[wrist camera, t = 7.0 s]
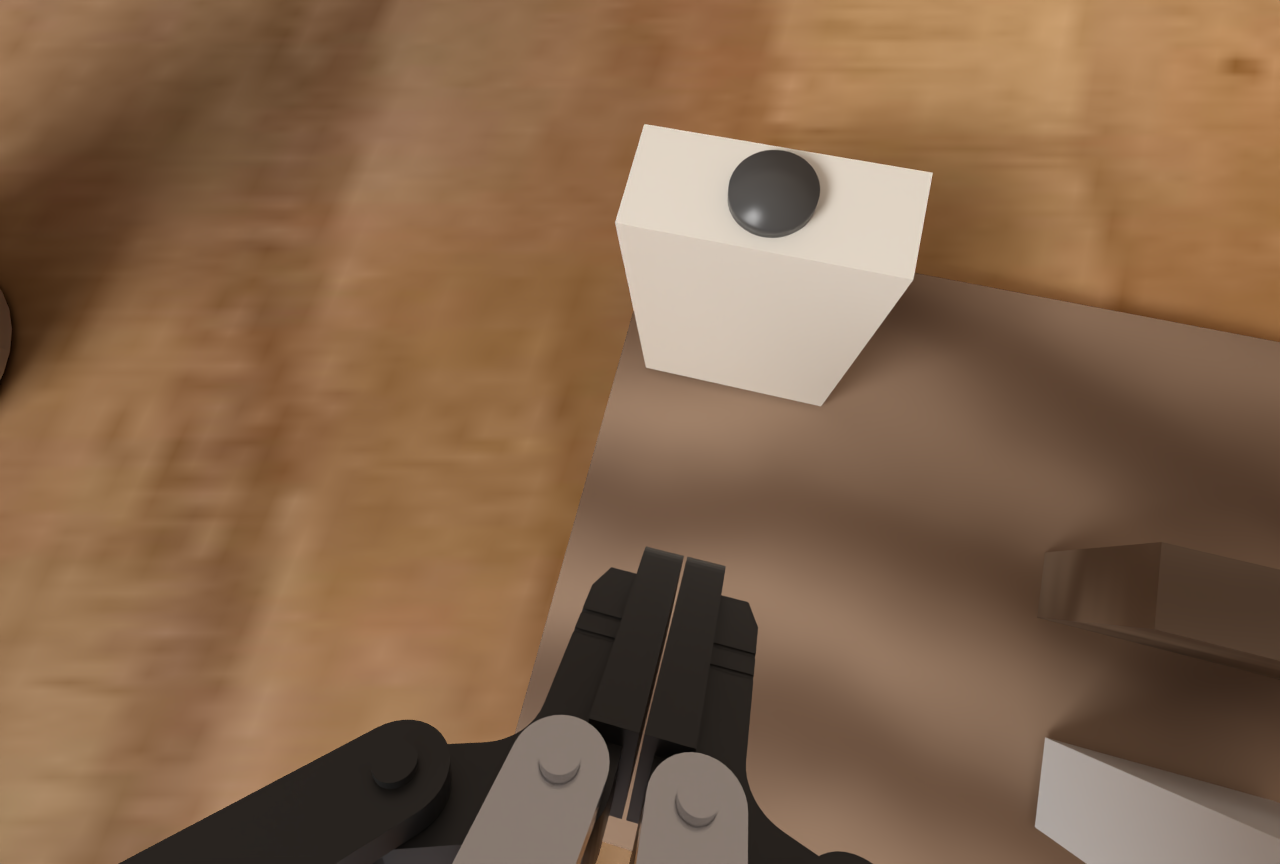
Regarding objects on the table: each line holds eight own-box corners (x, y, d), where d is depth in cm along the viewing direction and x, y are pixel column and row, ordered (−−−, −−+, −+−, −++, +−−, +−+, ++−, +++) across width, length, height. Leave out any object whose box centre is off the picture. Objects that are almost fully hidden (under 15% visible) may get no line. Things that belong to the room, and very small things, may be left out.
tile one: (821, 406, 21) (918, 272, 12) (645, 367, 22) (613, 214, 13) (834, 340, 21) (938, 162, 12) (663, 304, 22) (643, 113, 13)
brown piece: (1249, 1030, 18) (1560, 1279, 11) (508, 790, 21) (427, 881, 14) (1280, 365, 22) (1521, 277, 15) (659, 245, 25) (648, 129, 18)
